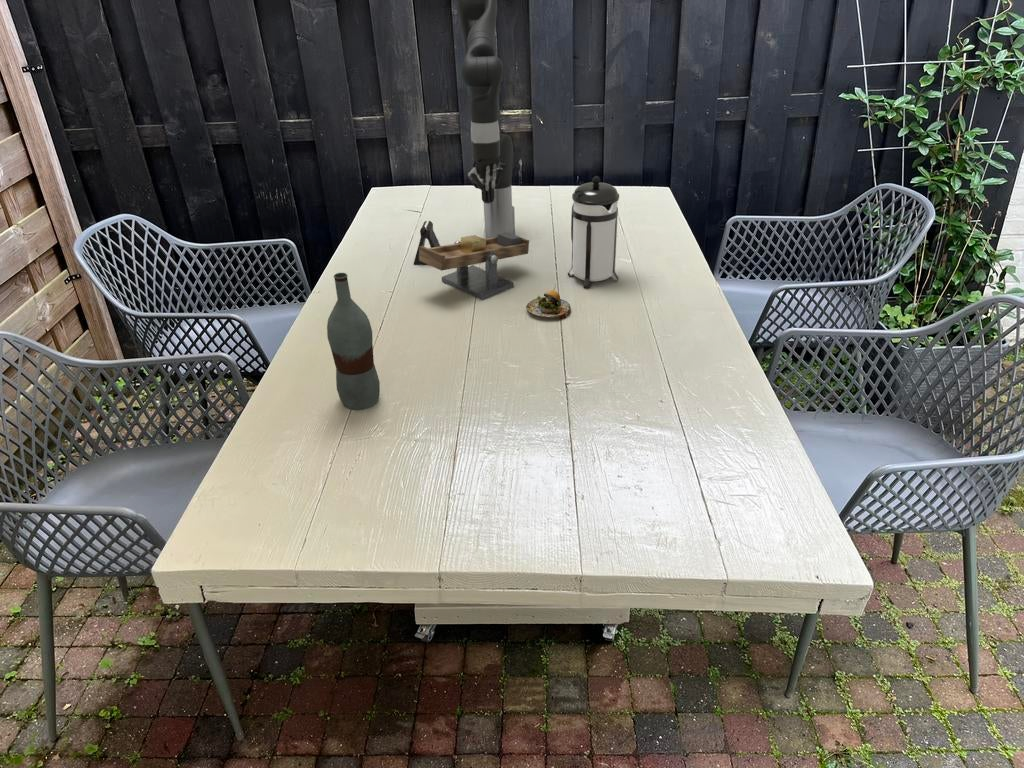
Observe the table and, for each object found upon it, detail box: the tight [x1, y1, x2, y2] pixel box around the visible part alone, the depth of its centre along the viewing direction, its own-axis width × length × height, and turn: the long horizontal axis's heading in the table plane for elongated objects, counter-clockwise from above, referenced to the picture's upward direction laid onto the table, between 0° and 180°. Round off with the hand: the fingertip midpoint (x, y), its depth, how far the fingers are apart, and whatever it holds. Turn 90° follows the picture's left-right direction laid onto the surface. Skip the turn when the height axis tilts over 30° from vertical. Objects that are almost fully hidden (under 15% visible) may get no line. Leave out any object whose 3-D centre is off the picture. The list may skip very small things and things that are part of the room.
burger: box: [525, 284, 572, 321], centre depth 197 cm, size 12×12×8 cm
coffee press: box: [567, 175, 620, 290], centre depth 209 cm, size 17×16×30 cm
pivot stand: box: [441, 240, 515, 301], centre depth 212 cm, size 12×18×11 cm, turn 43°
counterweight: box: [497, 232, 523, 247], centre depth 217 cm, size 4×6×3 cm, turn 43°
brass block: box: [460, 234, 486, 254], centre depth 208 cm, size 5×5×4 cm
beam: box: [418, 232, 530, 272], centre depth 209 cm, size 32×10×4 cm, turn 133°
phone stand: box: [413, 220, 441, 266], centre depth 227 cm, size 9×6×12 cm, turn 86°
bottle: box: [326, 272, 381, 411], centre depth 156 cm, size 9×9×30 cm
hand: (488, 202), depth 205 cm, fingers closed
